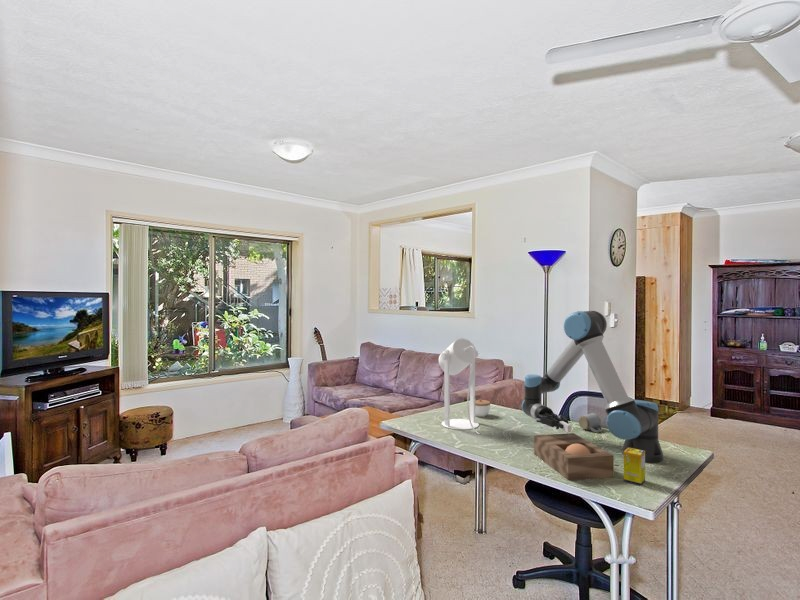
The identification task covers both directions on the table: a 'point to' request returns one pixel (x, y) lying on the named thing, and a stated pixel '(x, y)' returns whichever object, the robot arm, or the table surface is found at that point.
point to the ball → (577, 449)
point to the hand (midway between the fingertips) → (569, 428)
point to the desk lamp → (452, 364)
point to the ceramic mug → (590, 422)
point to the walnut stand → (573, 457)
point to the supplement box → (634, 466)
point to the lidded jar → (482, 407)
